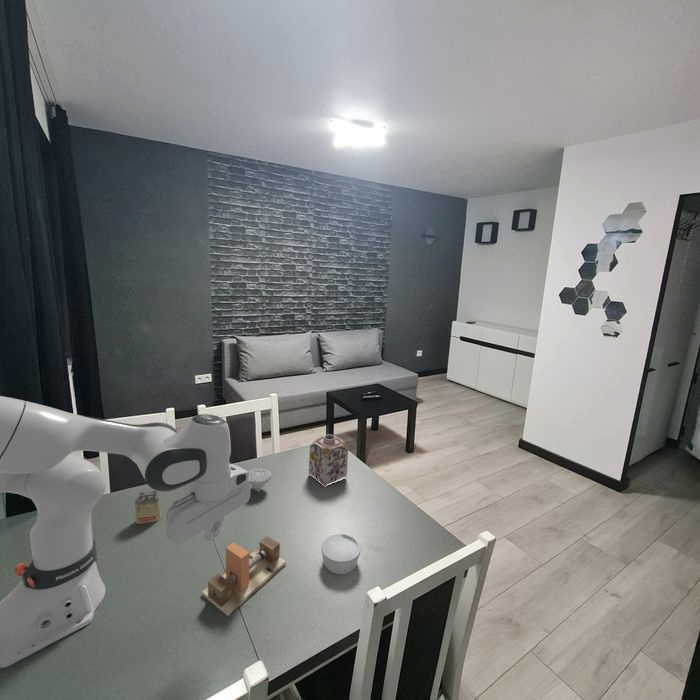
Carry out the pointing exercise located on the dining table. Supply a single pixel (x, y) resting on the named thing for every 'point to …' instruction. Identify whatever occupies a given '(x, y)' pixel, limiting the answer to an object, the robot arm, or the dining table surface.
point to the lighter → (147, 508)
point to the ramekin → (340, 553)
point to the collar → (237, 565)
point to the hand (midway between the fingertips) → (212, 536)
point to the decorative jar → (328, 459)
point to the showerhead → (259, 478)
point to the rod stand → (260, 571)
